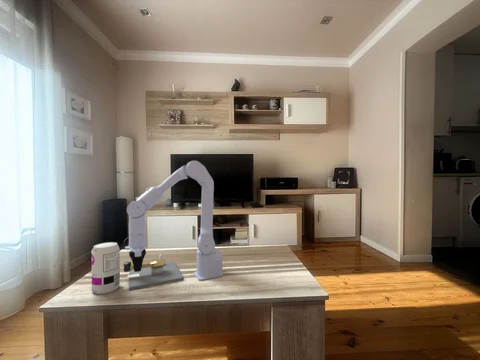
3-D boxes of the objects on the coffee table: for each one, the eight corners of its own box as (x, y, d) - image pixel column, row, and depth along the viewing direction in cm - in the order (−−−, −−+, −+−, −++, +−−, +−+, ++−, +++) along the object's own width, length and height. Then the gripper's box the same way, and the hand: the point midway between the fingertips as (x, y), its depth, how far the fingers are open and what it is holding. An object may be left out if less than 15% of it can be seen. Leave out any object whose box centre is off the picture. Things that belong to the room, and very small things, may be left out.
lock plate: (173, 262, 104) (173, 251, 104) (183, 280, 85) (183, 266, 85) (127, 269, 97) (127, 257, 97) (127, 290, 78) (127, 275, 78)
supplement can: (88, 296, 74) (87, 249, 74) (96, 285, 82) (96, 242, 82) (116, 293, 76) (116, 247, 76) (121, 282, 84) (121, 241, 84)
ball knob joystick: (164, 262, 95) (164, 255, 95) (166, 267, 89) (166, 259, 89) (123, 268, 88) (123, 261, 88) (123, 274, 83) (123, 266, 83)
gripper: (125, 231, 90) (125, 266, 90) (124, 239, 77) (125, 280, 77) (145, 229, 93) (145, 263, 93) (147, 236, 80) (148, 276, 80)
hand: (137, 271), depth 85 cm, fingers closed
